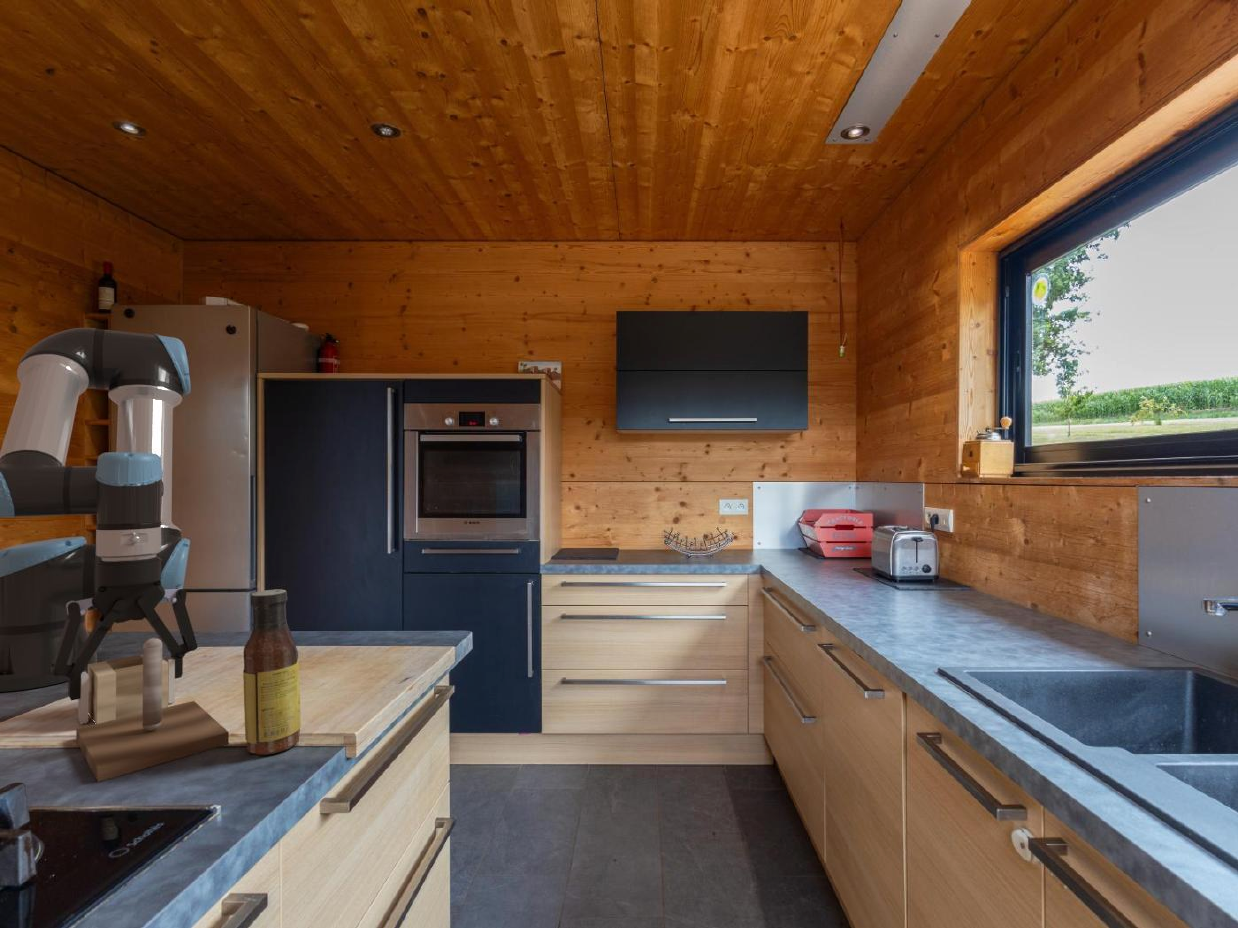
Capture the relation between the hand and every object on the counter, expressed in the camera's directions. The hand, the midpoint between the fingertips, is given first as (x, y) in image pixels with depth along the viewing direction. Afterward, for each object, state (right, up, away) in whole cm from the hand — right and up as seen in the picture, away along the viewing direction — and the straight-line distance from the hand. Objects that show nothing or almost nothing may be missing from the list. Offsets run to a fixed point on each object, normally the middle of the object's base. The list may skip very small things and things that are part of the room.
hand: (127, 710), depth 89 cm
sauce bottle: (+28, 0, -11) cm, 30 cm away
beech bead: (0, 0, 0) cm, 0 cm away
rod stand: (+11, 0, -10) cm, 15 cm away
